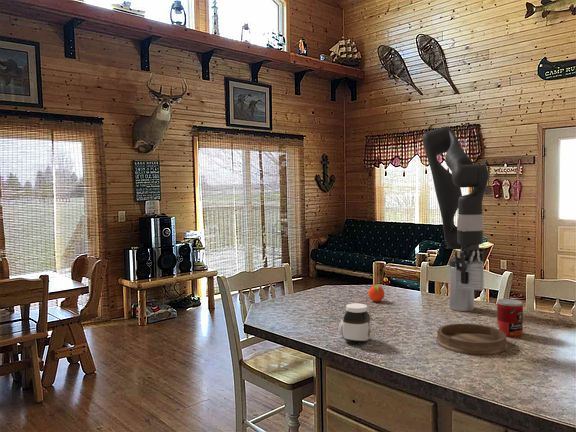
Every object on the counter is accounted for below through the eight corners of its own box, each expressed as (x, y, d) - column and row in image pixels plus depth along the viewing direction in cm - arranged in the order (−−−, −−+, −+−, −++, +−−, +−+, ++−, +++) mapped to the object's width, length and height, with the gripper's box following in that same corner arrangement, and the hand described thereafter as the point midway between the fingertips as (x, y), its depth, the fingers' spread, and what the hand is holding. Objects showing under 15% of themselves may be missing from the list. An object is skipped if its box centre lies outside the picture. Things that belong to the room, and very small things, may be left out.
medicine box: (483, 288, 150) (483, 261, 150) (482, 291, 146) (482, 263, 146) (457, 286, 154) (457, 259, 154) (455, 289, 150) (455, 261, 150)
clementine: (386, 303, 204) (386, 287, 204) (370, 304, 204) (369, 287, 204) (383, 299, 212) (382, 283, 212) (367, 299, 212) (367, 283, 212)
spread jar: (362, 347, 150) (361, 310, 149) (329, 341, 156) (329, 306, 155) (376, 336, 160) (375, 302, 159) (345, 332, 166) (344, 298, 165)
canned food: (512, 339, 155) (512, 305, 154) (491, 332, 162) (491, 300, 161) (528, 335, 158) (528, 302, 157) (507, 329, 165) (507, 297, 164)
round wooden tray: (458, 329, 166) (457, 319, 166) (519, 343, 150) (519, 332, 150) (423, 343, 152) (423, 332, 152) (487, 360, 136) (487, 348, 136)
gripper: (470, 226, 157) (470, 277, 158) (446, 229, 147) (446, 284, 148) (492, 227, 151) (492, 280, 152) (469, 231, 142) (469, 287, 143)
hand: (470, 282), depth 150 cm, fingers closed on medicine box, 5 cm apart
